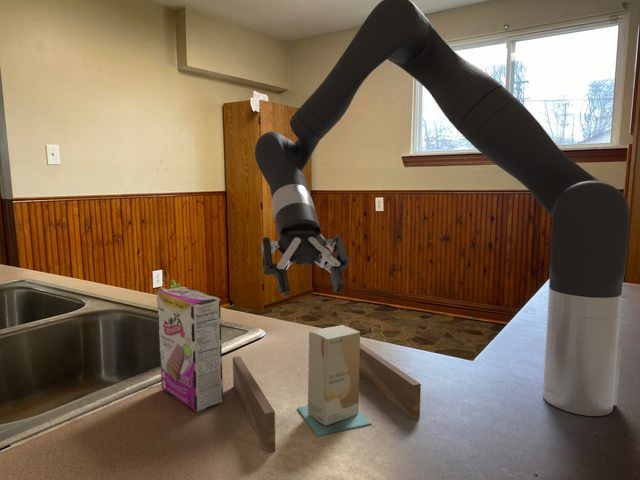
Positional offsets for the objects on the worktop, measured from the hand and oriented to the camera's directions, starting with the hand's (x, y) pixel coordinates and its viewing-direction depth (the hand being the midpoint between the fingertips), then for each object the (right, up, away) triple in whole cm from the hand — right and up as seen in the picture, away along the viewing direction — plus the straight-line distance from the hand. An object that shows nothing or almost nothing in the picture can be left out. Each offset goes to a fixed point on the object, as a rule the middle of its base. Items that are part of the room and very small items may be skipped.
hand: (313, 291), depth 71 cm
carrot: (-27, -15, +15) cm, 34 cm away
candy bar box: (-19, -16, -1) cm, 25 cm away
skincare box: (+3, -17, -7) cm, 18 cm away
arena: (+1, -16, -3) cm, 17 cm away
